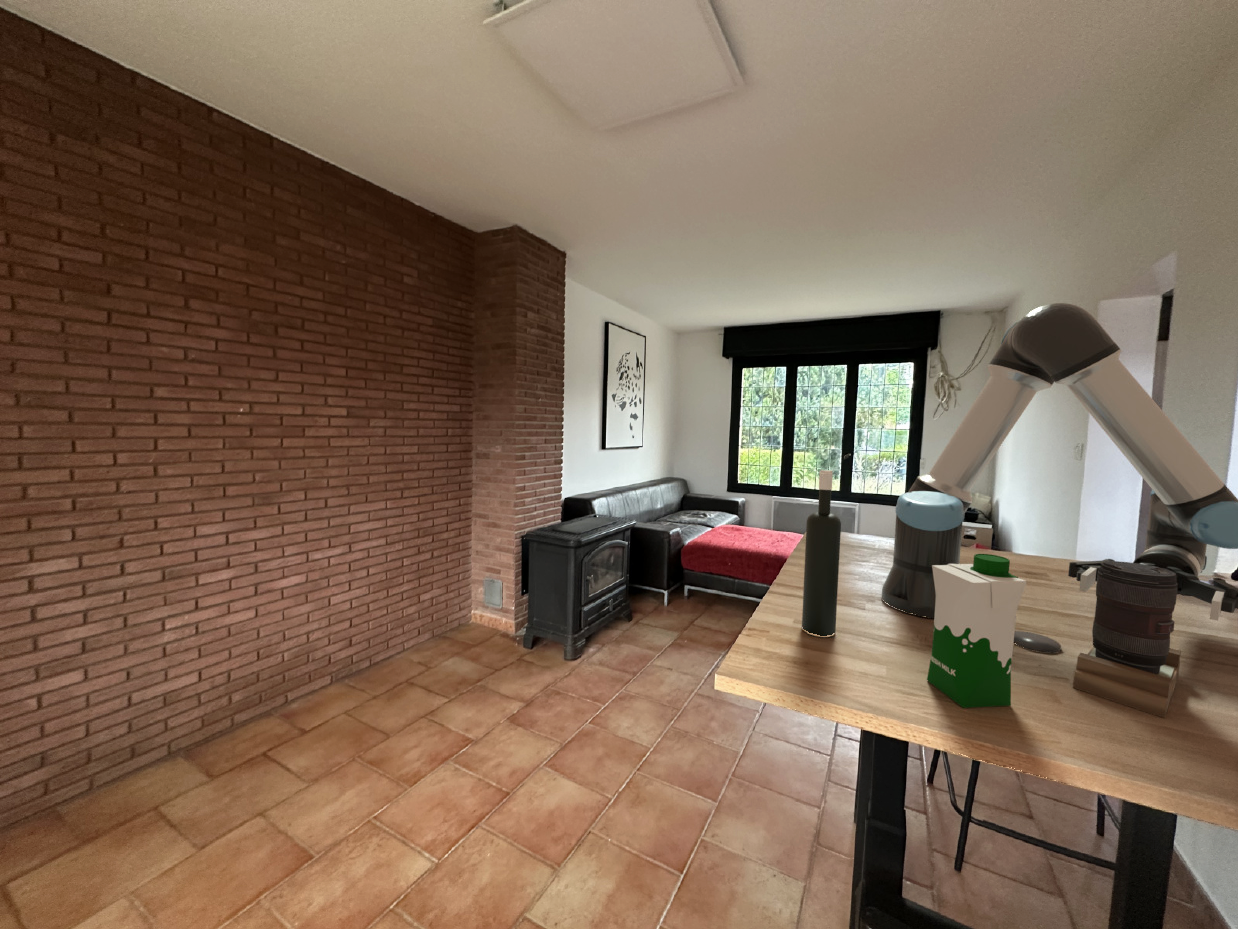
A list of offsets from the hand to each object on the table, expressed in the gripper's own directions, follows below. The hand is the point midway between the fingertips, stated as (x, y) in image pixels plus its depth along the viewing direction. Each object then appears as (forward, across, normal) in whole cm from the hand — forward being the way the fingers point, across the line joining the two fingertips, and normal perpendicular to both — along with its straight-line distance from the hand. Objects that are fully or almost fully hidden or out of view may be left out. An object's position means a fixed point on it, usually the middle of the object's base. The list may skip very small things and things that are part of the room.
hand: (1144, 595), depth 73 cm
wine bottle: (+26, +37, -13) cm, 47 cm away
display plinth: (+4, 0, -13) cm, 13 cm away
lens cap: (-1, +12, -13) cm, 18 cm away
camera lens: (+4, +1, -10) cm, 11 cm away
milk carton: (+27, +13, -13) cm, 33 cm away
